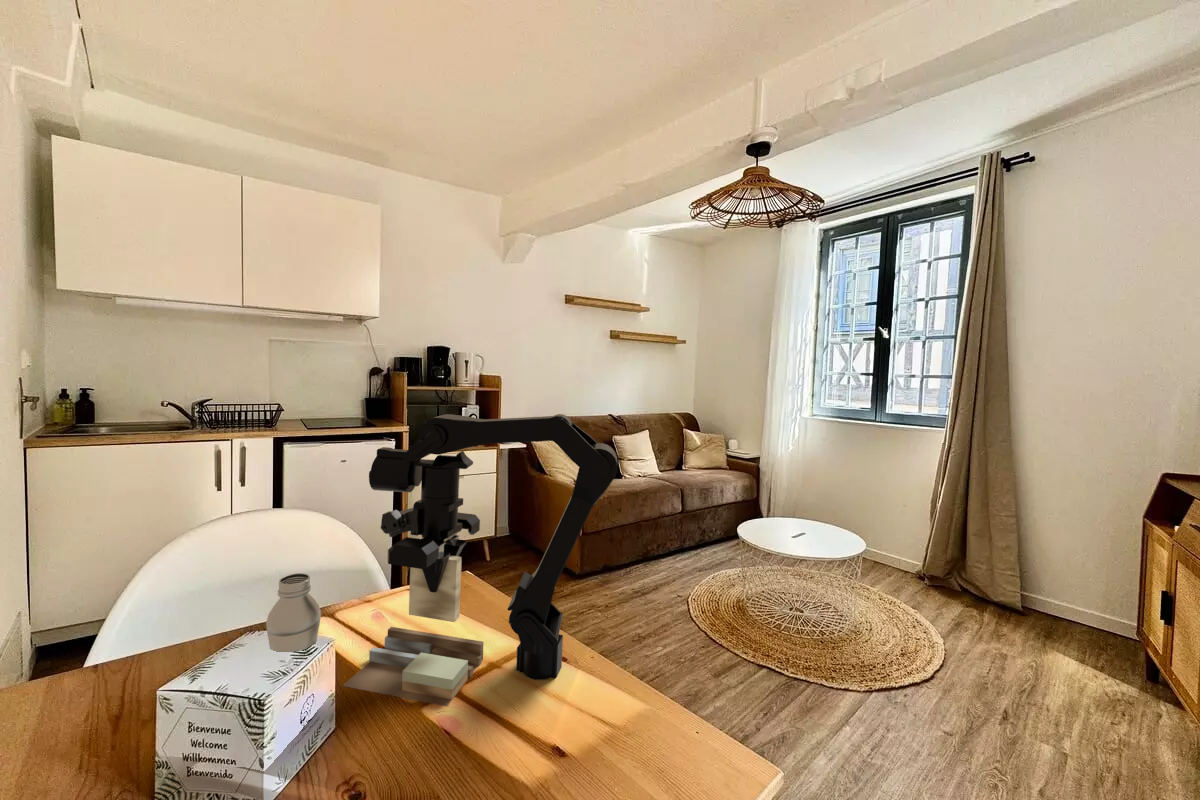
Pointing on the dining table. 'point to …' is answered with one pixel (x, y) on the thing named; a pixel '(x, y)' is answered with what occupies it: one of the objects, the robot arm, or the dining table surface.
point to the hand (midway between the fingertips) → (436, 589)
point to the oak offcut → (434, 688)
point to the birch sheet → (437, 593)
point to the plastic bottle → (293, 616)
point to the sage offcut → (435, 670)
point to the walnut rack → (401, 651)
